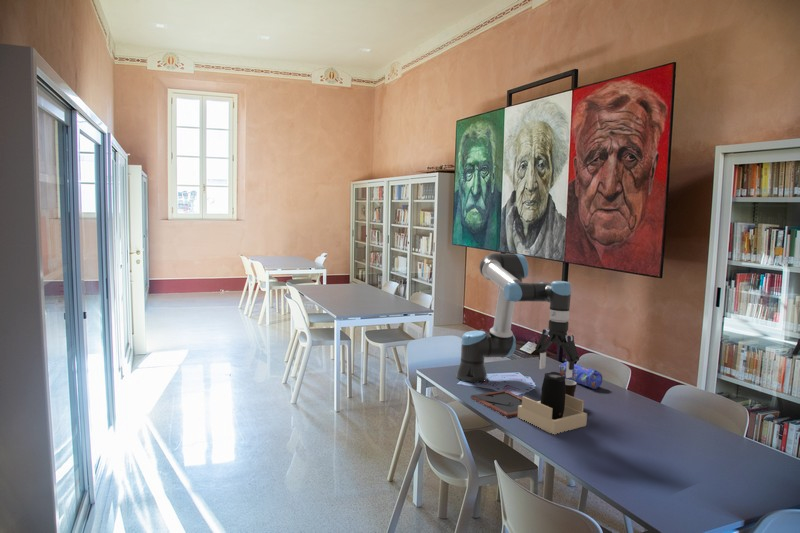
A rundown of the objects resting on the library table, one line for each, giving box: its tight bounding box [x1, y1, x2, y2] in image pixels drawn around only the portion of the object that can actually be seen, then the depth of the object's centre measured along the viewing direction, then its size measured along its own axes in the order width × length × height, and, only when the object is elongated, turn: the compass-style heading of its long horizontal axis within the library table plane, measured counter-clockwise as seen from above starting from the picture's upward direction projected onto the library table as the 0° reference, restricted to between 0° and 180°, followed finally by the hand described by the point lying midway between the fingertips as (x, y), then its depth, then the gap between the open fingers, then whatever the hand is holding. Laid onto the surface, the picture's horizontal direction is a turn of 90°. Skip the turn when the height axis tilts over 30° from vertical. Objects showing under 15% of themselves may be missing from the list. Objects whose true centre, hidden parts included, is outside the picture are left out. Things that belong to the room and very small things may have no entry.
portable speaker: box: [540, 371, 566, 420], centre depth 218 cm, size 9×9×20 cm
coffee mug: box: [565, 378, 578, 397], centre depth 241 cm, size 12×9×10 cm
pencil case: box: [558, 361, 603, 390], centre depth 271 cm, size 22×9×10 cm, turn 28°
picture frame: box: [470, 389, 522, 418], centre depth 236 cm, size 20×2×25 cm
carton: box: [516, 394, 588, 435], centre depth 218 cm, size 19×19×10 cm
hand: (555, 372), depth 216 cm, fingers open, 13 cm apart
